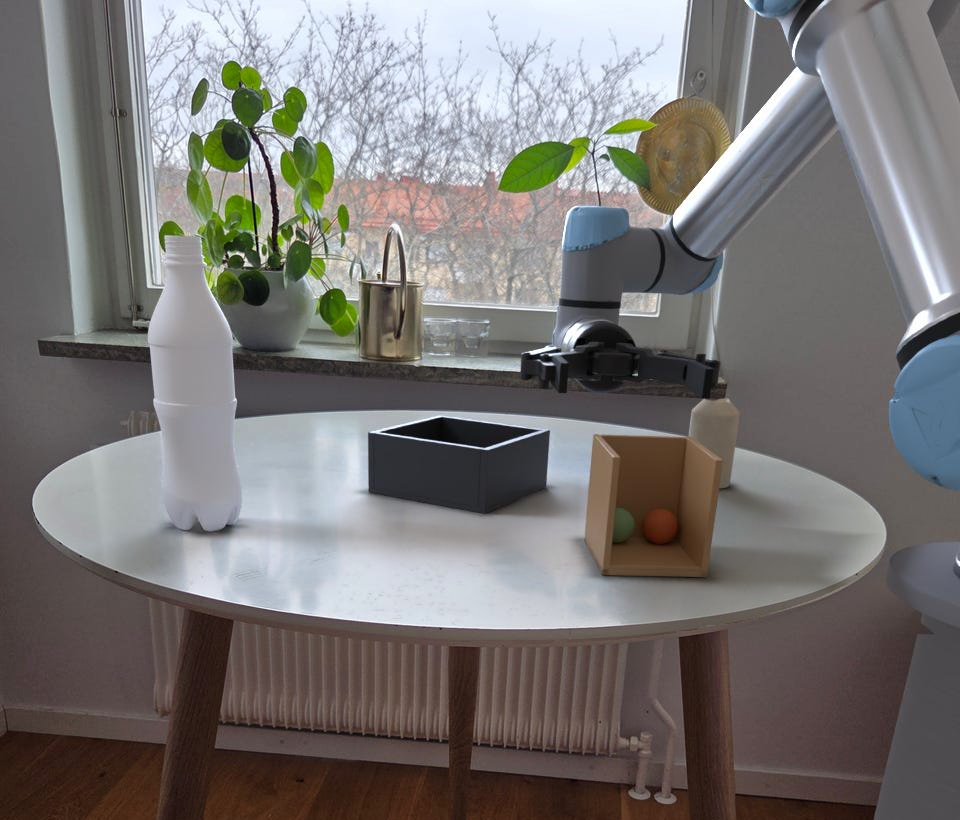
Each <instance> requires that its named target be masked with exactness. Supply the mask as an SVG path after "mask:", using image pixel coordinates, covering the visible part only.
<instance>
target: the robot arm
mask: <svg viewBox="0 0 960 820" xmlns="http://www.w3.org/2000/svg"><path fill="white" fill-rule="evenodd" d="M744 2H746V5H748V7H749V8H750V9H751V10H753V11H754V12H756V13H757V14H758V15H759V16H761V17H763V18H767V19H773V18H775V19H777V21H778V22H779V23H780V25H781V27H782V30H783V33H784V36H785V39H786V42H787V45H788V48H789V51H790V53H791V56H792V60H793V62H794V64H795V68H794V69H793V70H792V72H791V73H790V74H789V75H788V76H787V78H786V79H784V81H783V82H782V84H781V85H780V86H779V87H778V88H777V89H776V91H775V92H774V93H773V94H772V95H771V97H770V98H769V99H768V101H766V103H764V105H763V106H762V108H761V109H760V110H759V111H758V112H757V113H756V114H755V116H754V117H753V118H752V119H751V121H750V122H749V123H748V124H747V126H746V127H745V128H744V129H743V130H742V131H741V132H740V134H739V135H738V136H737V137H736V139H734V141H733V142H732V143H731V144H730V146H729V147H728V148H727V150H726V151H725V152H724V153H723V154H722V155H721V157H720V158H719V159H718V160H717V161H716V163H715V164H714V165H713V166H712V168H711V169H710V170H709V171H708V172H707V173H706V174H705V176H703V178H702V179H701V181H700V182H699V183H698V184H697V185H696V186H695V188H694V189H693V190H692V191H691V192H690V194H689V195H688V196H687V197H686V198H685V200H683V202H682V203H681V204H680V206H679V207H678V208H677V209H676V210H675V212H674V213H673V214H672V215H671V216H670V217H669V219H668V220H667V221H666V222H665V224H664V225H662V226H661V227H645V226H637V225H631V224H630V214H629V211H628V210H627V209H626V208H624V207H616V206H602V205H600V206H599V205H575V206H573V207H572V208H570V209H569V210H568V211H567V213H566V215H565V223H564V227H563V236H562V241H561V246H560V247H561V266H560V267H561V269H560V270H561V271H560V289H559V290H560V292H559V298H558V299H559V300H558V304H557V316H556V324H555V325H556V326H555V328H554V329H553V332H552V337H551V344H548V345H546V346H545V347H544V348H543V347H542V348H539V349H534V350H529V351H524V352H522V353H521V355H520V374H519V379H521V380H523V381H529V380H534V379H536V378H538V380H537V388H538V389H541V390H543V389H544V390H549V388H550V385H551V386H552V387H553V388H554V389H555V390H556V392H557V393H558V394H567V393H568V392H567V391H568V383H569V379H573V380H575V381H576V382H577V383H578V384H579V385H580V386H581V387H582V388H584V389H586V390H587V391H589V392H593V393H596V394H605V393H611V392H614V391H616V390H618V389H620V388H621V387H623V386H624V385H625V384H627V382H632V383H637V384H638V383H639V384H642V383H648V382H650V381H656V382H663V383H668V384H674V385H680V386H684V389H685V390H687V391H689V392H690V393H692V394H694V395H696V396H697V397H699V398H700V399H706V400H709V399H711V392H712V389H714V388H718V386H719V378H720V371H721V364H722V362H721V361H720V360H717V359H708V358H707V353H696V356H691V355H685V354H679V353H675V352H672V351H668V350H667V349H660V350H658V352H657V354H655V353H654V352H653V350H652V349H651V348H645V347H640V346H637V345H636V342H635V341H634V338H633V337H632V335H631V334H630V333H629V332H628V331H627V330H626V329H625V328H624V327H622V326H620V325H619V321H620V313H621V312H620V311H621V307H622V298H623V297H622V296H623V293H624V294H625V293H628V294H629V293H630V294H631V293H632V294H633V293H634V294H639V293H640V294H660V295H661V294H663V295H665V294H666V295H677V296H684V295H689V294H698V293H699V294H700V293H702V292H705V291H707V290H709V289H710V288H711V287H712V286H713V285H715V283H716V282H717V280H718V278H719V274H720V271H721V270H723V264H724V251H725V250H726V249H727V248H728V247H729V245H730V244H732V243H733V241H735V239H737V237H738V236H739V235H740V234H741V233H742V232H743V231H744V230H745V229H746V228H747V227H748V226H749V224H750V223H751V222H752V221H754V219H755V218H756V217H757V216H758V215H759V214H760V213H761V212H762V211H763V210H764V209H765V208H766V207H767V206H768V204H769V203H770V202H771V201H772V200H773V199H774V198H776V196H777V195H778V194H779V193H780V192H781V191H782V190H783V189H784V188H785V186H786V185H787V184H788V183H790V181H791V180H792V179H793V178H794V177H795V176H796V175H797V174H798V173H799V172H800V171H801V169H803V167H805V165H807V163H808V162H809V161H810V160H812V158H813V157H814V156H815V155H816V154H817V153H818V152H819V151H820V150H821V149H822V148H823V146H825V144H826V143H828V141H829V140H830V139H831V138H832V137H833V136H834V135H835V134H836V133H837V132H838V131H839V133H840V136H841V139H842V141H843V144H844V145H843V146H844V148H845V151H846V154H847V156H848V159H849V162H850V166H851V168H852V171H853V174H854V177H855V179H856V182H857V185H858V188H859V190H860V194H861V196H862V199H863V202H864V205H865V208H866V211H867V214H868V216H869V219H870V222H871V225H872V228H873V231H874V233H875V234H874V235H875V236H876V240H877V243H878V245H879V248H880V251H881V254H882V257H883V260H884V262H885V265H886V268H887V271H888V274H889V277H890V279H891V282H892V286H893V288H894V292H895V294H896V297H897V300H898V303H899V305H900V308H901V312H902V314H903V318H904V320H905V323H906V331H905V333H904V334H903V337H902V339H901V340H900V342H899V343H898V346H897V347H896V350H895V358H896V361H897V365H898V367H899V370H900V372H899V374H898V376H897V378H896V379H895V382H894V385H893V390H895V393H894V395H893V397H892V398H891V399H890V400H889V403H888V423H889V430H890V433H891V437H892V440H893V442H894V445H895V447H896V449H897V451H898V453H899V455H900V456H901V458H902V459H903V460H904V462H905V463H906V464H907V465H908V466H909V467H910V469H912V471H914V472H915V473H916V474H917V475H919V476H920V478H923V480H926V481H927V482H929V483H931V484H934V485H936V486H938V487H941V488H944V489H946V490H951V491H956V492H960V100H959V98H958V94H957V91H956V89H955V86H954V84H953V80H952V78H951V75H950V73H949V69H948V68H947V64H946V62H945V59H944V56H943V53H942V51H941V47H940V45H939V42H938V40H937V39H938V38H939V36H940V35H941V33H943V31H944V29H945V28H946V27H947V25H948V23H949V22H950V20H951V18H952V17H953V15H954V13H955V11H956V10H957V8H958V6H959V4H960V0H744ZM953 571H954V573H955V575H956V576H957V577H959V578H960V548H959V550H958V553H957V554H956V558H955V562H954V566H953Z"/></svg>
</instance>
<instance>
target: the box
mask: <svg viewBox="0 0 960 820" xmlns="http://www.w3.org/2000/svg"><path fill="white" fill-rule="evenodd" d="M591 444H592V445H591V455H590V456H591V457H590V466H589V467H590V468H589V469H590V470H589V480H588V491H587V504H586V514H585V515H586V517H585V527H584V538H583V539H584V541H583V542H584V543H585V545H586V547H587V549H588V551H589V553H590V554H591V556H592V558H593V560H594V562H595V564H596V566H597V568H598V570H599V571H600V573H601V575H602V576H626V577H627V576H630V577H632V576H633V577H634V576H635V577H675V578H677V577H678V578H679V577H681V578H708V572H709V565H710V556H711V551H712V550H711V549H712V543H713V535H714V528H715V522H716V515H717V514H716V513H717V507H718V501H719V500H718V499H719V494H720V493H719V492H720V488H719V486H720V479H721V472H722V465H723V460H722V459H721V458H719V457H718V456H716V455H715V454H714V453H712V452H711V451H710V450H708V449H707V448H705V447H704V446H703V445H701V444H700V443H699V442H697V441H696V440H694V439H693V438H692V437H688V436H669V435H668V436H667V435H665V436H664V435H662V436H661V435H636V434H635V435H630V434H599V433H598V434H597V433H594V434H593V435H592V443H591ZM615 508H623V509H625V510H627V511H628V512H629V513H630V514H631V515H632V517H633V519H634V524H635V527H634V531H633V533H632V535H631V536H630V538H628V539H627V540H626V541H624V542H621V543H613V542H612V538H613V528H614V518H615ZM656 509H666V510H668V511H670V512H671V513H673V514H674V516H675V517H676V519H677V522H678V530H677V533H676V535H675V537H674V538H673V539H672V540H671V541H669V542H667V543H664V544H656V543H653V542H651V541H649V540H648V539H647V538H646V537H645V535H644V533H643V528H642V526H643V521H644V519H645V517H646V516H647V514H648V513H650V512H651V511H653V510H656Z"/></svg>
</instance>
